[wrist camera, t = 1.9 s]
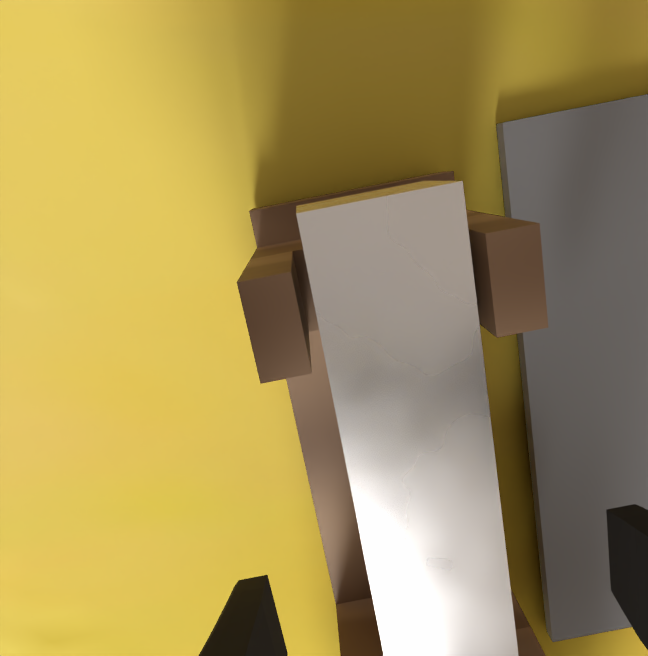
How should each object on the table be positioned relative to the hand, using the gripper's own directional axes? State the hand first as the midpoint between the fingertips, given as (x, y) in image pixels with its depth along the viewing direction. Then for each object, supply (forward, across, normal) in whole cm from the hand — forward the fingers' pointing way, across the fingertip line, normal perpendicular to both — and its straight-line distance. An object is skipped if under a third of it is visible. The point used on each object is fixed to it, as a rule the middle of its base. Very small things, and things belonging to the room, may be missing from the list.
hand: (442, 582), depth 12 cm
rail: (+3, 0, 0) cm, 3 cm away
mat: (+7, -8, 0) cm, 11 cm away
